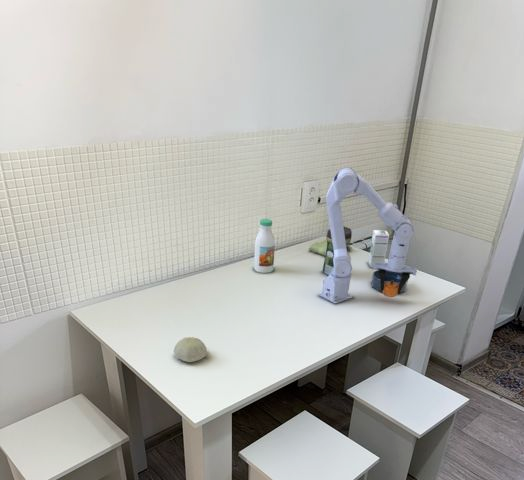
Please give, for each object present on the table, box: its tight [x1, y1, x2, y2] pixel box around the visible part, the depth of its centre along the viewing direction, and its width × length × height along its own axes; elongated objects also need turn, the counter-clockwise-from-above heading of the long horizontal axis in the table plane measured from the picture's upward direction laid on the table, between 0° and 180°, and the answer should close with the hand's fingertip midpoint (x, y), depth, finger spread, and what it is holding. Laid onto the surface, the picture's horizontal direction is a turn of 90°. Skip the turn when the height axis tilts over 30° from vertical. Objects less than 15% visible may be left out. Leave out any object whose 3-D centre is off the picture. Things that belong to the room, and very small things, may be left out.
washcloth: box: [308, 238, 353, 257], centre depth 217 cm, size 13×18×3 cm
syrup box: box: [368, 229, 390, 269], centre depth 202 cm, size 6×6×14 cm
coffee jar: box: [322, 225, 353, 276], centre depth 192 cm, size 10×8×19 cm
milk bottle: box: [253, 218, 276, 274], centre depth 191 cm, size 8×8×20 cm
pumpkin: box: [381, 280, 399, 298], centre depth 174 cm, size 6×6×5 cm
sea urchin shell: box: [173, 336, 207, 363], centre depth 138 cm, size 9×8×8 cm
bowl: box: [370, 270, 409, 294], centre depth 186 cm, size 13×13×4 cm
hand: (390, 290), depth 175 cm, fingers closed on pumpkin, 5 cm apart
